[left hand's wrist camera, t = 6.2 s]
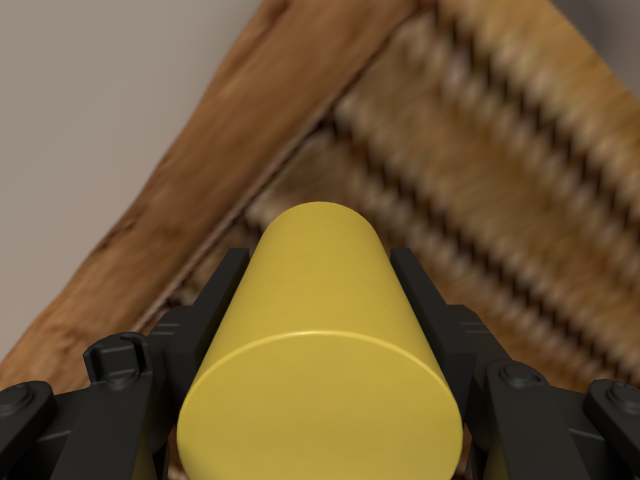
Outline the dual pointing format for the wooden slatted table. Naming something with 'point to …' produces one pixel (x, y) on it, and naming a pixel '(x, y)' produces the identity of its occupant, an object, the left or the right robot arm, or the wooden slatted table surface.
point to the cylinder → (319, 367)
